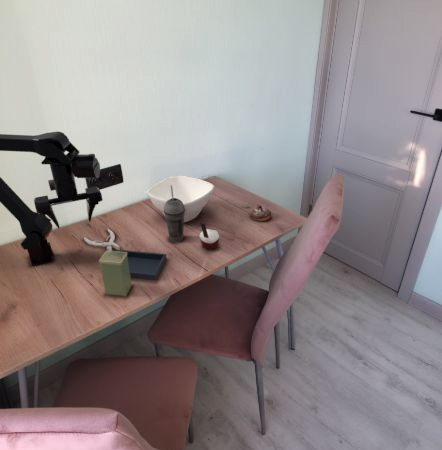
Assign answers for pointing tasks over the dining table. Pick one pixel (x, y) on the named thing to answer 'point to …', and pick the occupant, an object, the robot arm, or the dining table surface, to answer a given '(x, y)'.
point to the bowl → (182, 194)
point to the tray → (145, 264)
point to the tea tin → (115, 272)
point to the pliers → (108, 245)
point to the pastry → (261, 213)
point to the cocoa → (208, 238)
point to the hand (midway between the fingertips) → (74, 224)
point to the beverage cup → (174, 218)
